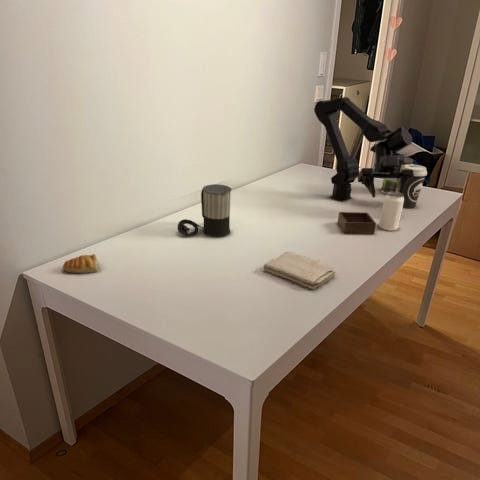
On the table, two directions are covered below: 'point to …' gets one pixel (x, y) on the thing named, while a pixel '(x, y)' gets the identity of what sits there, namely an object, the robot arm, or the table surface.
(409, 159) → the coffee can
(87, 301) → the table surface
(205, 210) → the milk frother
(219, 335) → the table surface
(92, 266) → the pastry
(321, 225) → the table surface
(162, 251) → the table surface
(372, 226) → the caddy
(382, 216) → the can
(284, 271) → the washcloth
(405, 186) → the coffee cup
